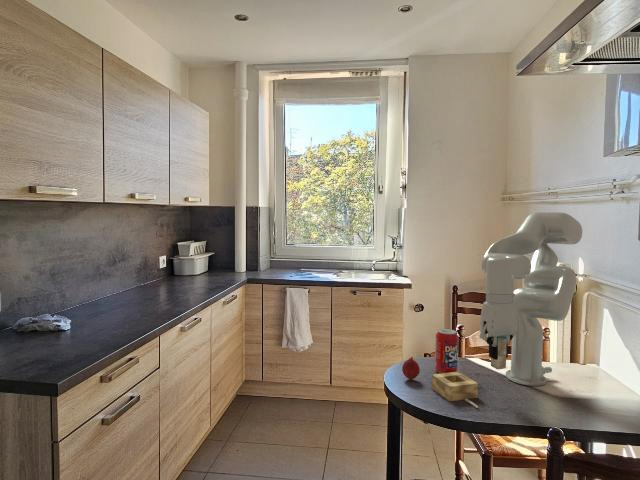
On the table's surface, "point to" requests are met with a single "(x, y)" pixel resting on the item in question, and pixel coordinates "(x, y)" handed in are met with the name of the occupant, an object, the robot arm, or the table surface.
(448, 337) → the soda can
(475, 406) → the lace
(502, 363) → the green capped spice bottle
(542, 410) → the table surface
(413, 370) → the onion
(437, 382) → the wooden block
